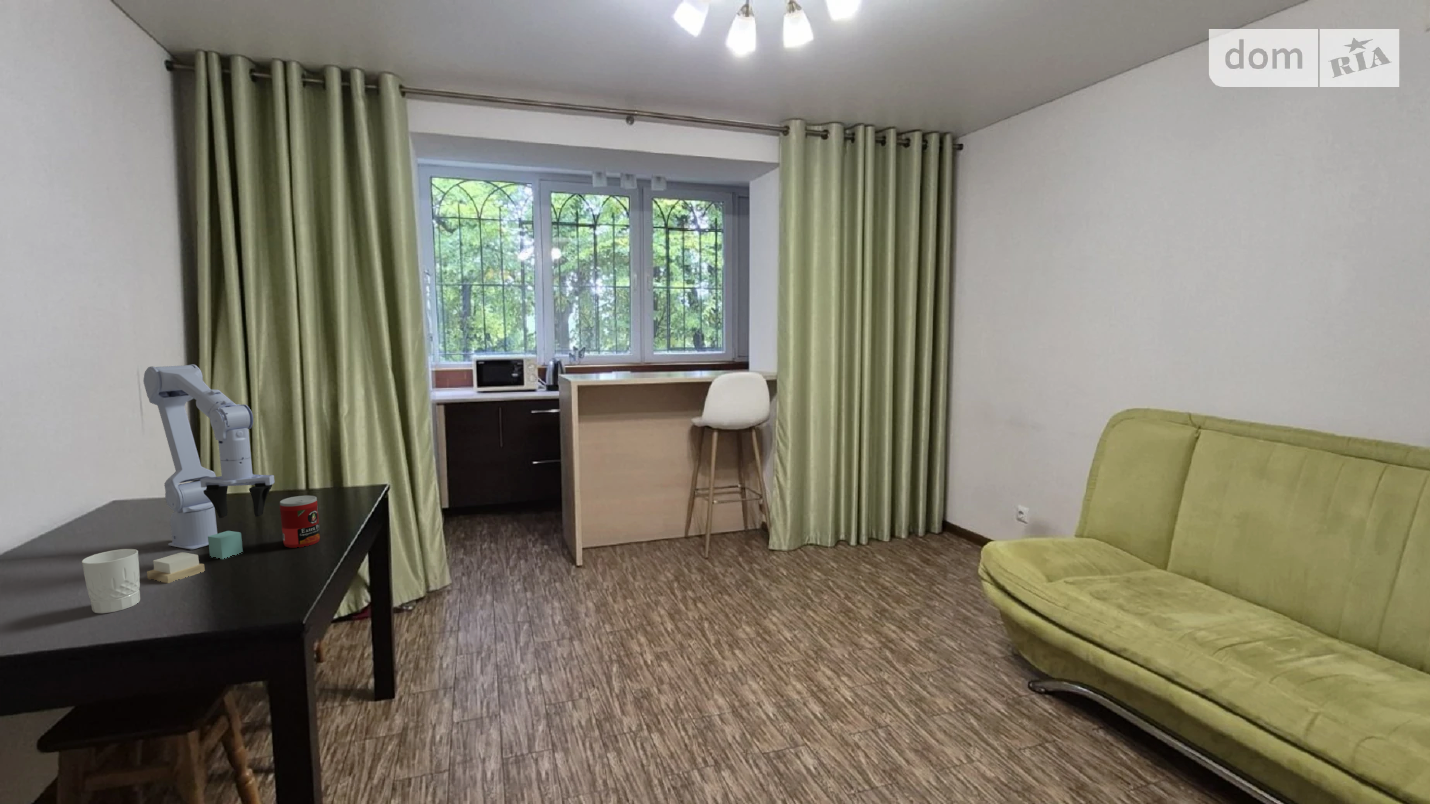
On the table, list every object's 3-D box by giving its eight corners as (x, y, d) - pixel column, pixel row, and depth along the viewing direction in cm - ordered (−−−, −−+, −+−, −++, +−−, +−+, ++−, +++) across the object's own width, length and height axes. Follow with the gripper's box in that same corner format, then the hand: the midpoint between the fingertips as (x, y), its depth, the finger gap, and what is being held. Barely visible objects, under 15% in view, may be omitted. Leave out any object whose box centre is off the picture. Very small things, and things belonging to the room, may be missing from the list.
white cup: (111, 598, 128) (105, 549, 127) (154, 596, 129) (148, 547, 128) (76, 616, 121) (69, 564, 119) (122, 614, 121) (115, 562, 120)
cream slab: (154, 570, 139) (153, 560, 138) (183, 561, 144) (182, 552, 144) (170, 573, 137) (169, 563, 136) (199, 564, 142) (198, 555, 142)
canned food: (303, 549, 156) (299, 504, 154) (275, 547, 157) (270, 502, 156) (328, 538, 163) (324, 496, 162) (301, 537, 165) (297, 494, 163)
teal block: (210, 557, 151) (207, 536, 151) (230, 550, 155) (228, 530, 155) (222, 559, 150) (220, 538, 149) (243, 553, 154) (240, 532, 153)
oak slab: (148, 581, 138) (146, 571, 138) (184, 569, 145) (183, 560, 145) (168, 585, 136) (167, 575, 136) (205, 573, 142) (203, 564, 142)
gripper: (189, 463, 144) (195, 522, 146) (260, 461, 146) (265, 519, 148) (209, 456, 151) (215, 513, 153) (276, 454, 153) (281, 510, 155)
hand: (241, 516), depth 151 cm, fingers open, 7 cm apart
